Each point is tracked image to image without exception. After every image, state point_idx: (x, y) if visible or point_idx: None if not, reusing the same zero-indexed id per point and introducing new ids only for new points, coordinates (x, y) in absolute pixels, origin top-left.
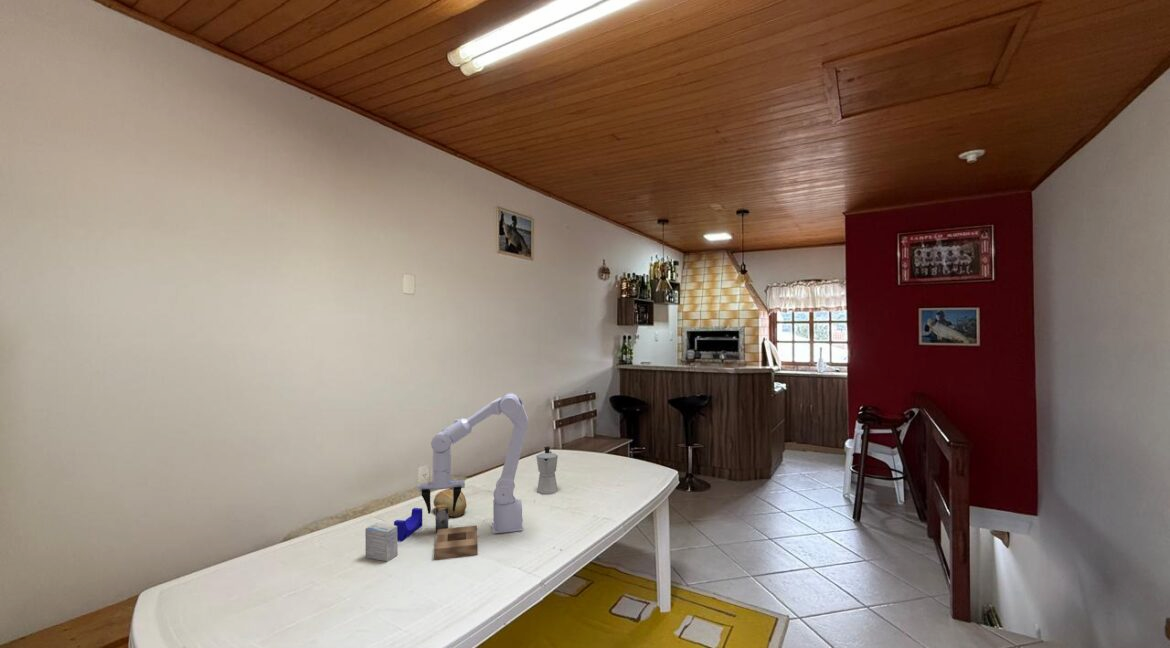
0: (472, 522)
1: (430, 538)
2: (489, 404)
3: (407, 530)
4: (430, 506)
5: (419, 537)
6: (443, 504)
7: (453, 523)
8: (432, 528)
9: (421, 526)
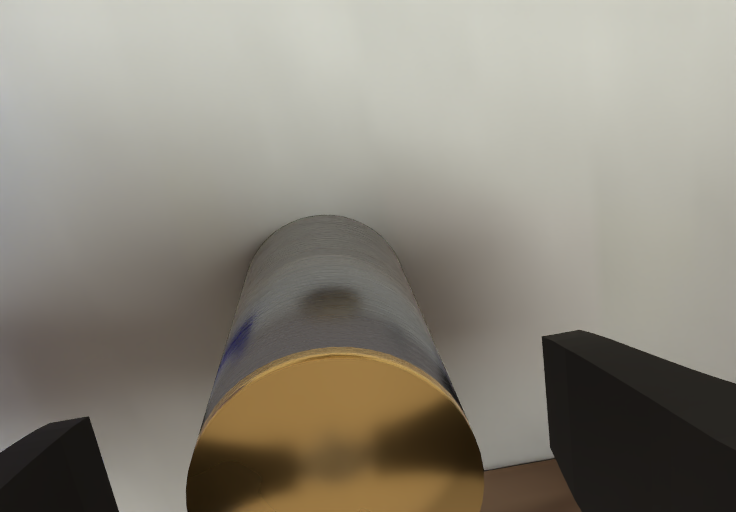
0: (701, 34)
1: None
2: None
3: None
4: (48, 499)
5: None
6: (347, 376)
7: (434, 38)
8: (170, 191)
9: None
